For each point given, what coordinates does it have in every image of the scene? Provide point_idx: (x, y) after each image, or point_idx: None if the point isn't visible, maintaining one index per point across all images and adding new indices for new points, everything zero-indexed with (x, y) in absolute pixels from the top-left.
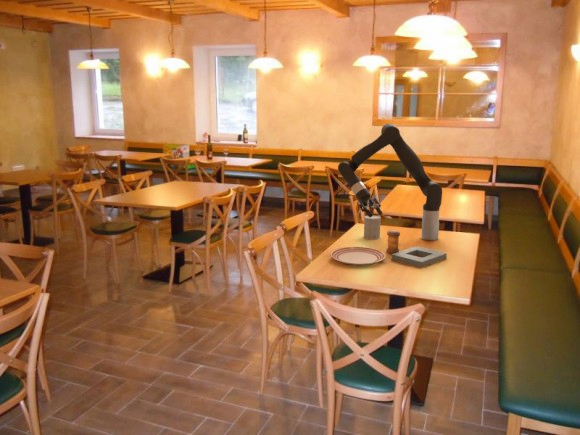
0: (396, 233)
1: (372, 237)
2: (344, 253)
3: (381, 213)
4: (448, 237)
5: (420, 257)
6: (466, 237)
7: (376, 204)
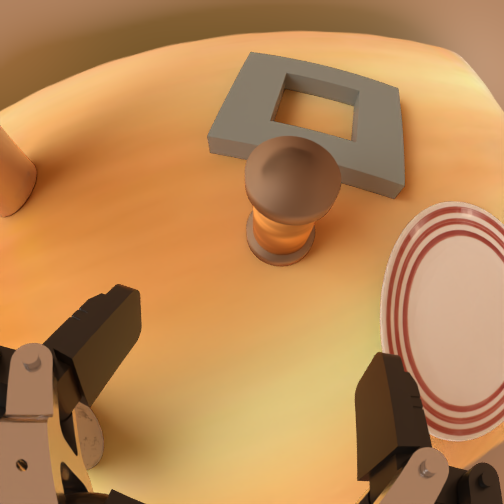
0: (318, 146)
1: (91, 422)
2: (460, 401)
3: (136, 297)
4: None
5: (360, 94)
6: (4, 119)
7: (16, 417)
